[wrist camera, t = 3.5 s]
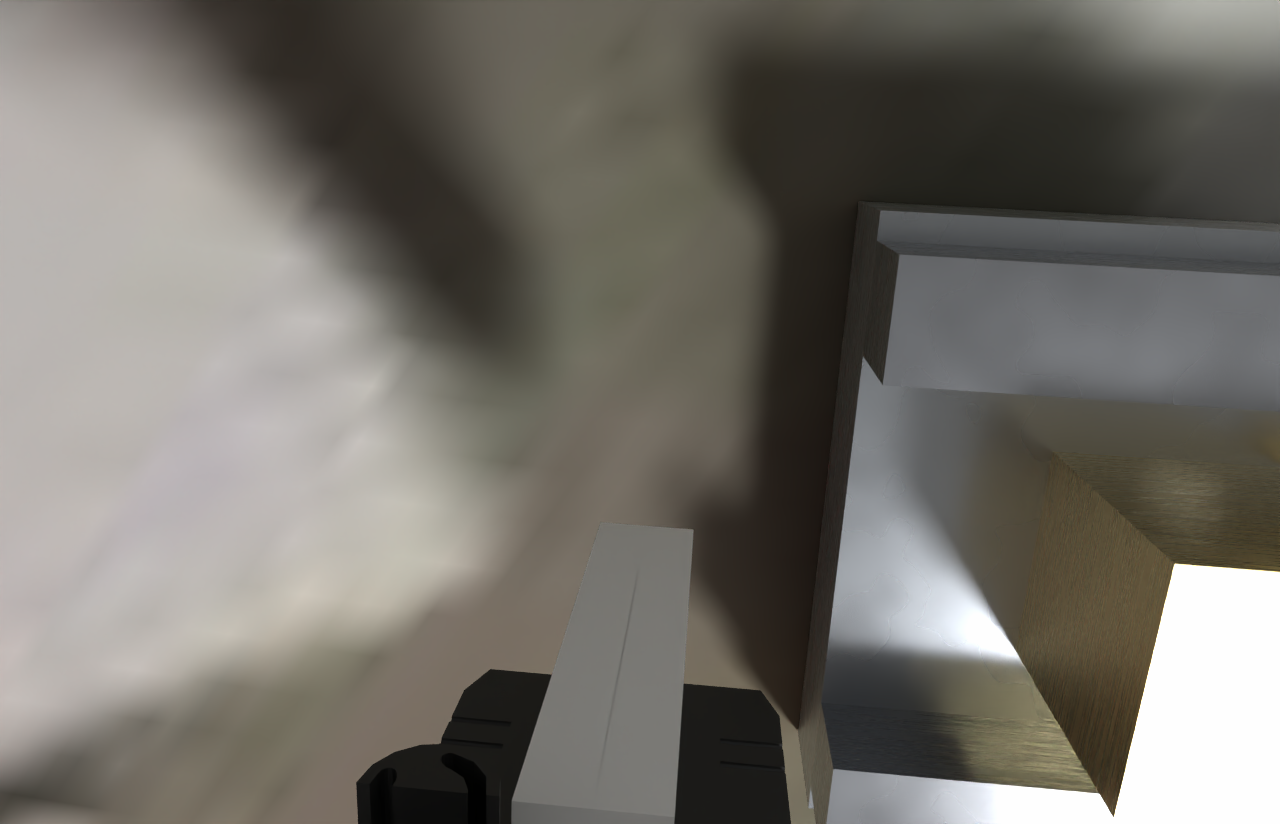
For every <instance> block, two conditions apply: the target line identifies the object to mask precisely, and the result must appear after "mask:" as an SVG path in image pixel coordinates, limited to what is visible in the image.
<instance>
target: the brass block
mask: <svg viewBox="0 0 1280 824" xmlns="http://www.w3.org/2000/svg"><path fill="white" fill-rule="evenodd" d="M1015 651H1016V652H1017V654H1018V656H1019V658H1020V659H1021V661H1022V663H1023V664H1024V666H1025V668H1026V670H1027V671H1028V673H1029V675H1030V676H1031V678H1032V680H1033V682H1034V683H1035V685H1036V687H1037V688H1038V690H1039V692H1040V693H1041V695H1042V697H1043V699H1044V700H1045V702H1046V704H1047V705H1048V707H1049V709H1050V711H1051V712H1052V714H1053V716H1054V717H1055V719H1056V721H1057V723H1058V724H1059V726H1060V728H1061V729H1062V731H1063V733H1064V735H1065V736H1066V738H1067V740H1068V741H1069V743H1070V745H1071V746H1072V748H1073V750H1074V752H1075V753H1076V755H1077V757H1078V758H1079V760H1080V762H1081V764H1082V765H1083V767H1084V769H1085V770H1086V772H1087V774H1088V776H1089V777H1090V779H1091V781H1092V782H1093V784H1094V786H1095V788H1096V789H1097V791H1098V793H1099V794H1100V796H1101V798H1102V799H1103V801H1104V803H1105V805H1106V806H1107V808H1108V810H1109V811H1110V813H1111V815H1112V817H1113V818H1114V819H1119V820H1129V821H1140V822H1150V823H1160V824H1280V467H1266V466H1251V465H1237V464H1223V463H1209V462H1194V461H1180V460H1166V459H1152V458H1137V457H1123V456H1109V455H1095V454H1080V453H1066V452H1053V454H1052V459H1051V464H1050V469H1049V475H1048V480H1047V485H1046V491H1045V496H1044V501H1043V507H1042V512H1041V517H1040V523H1039V528H1038V533H1037V538H1036V544H1035V549H1034V554H1033V560H1032V565H1031V570H1030V576H1029V581H1028V586H1027V592H1026V597H1025V602H1024V607H1023V613H1022V618H1021V623H1020V629H1019V634H1018V639H1017V645H1016V650H1015Z"/></svg>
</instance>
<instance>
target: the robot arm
mask: <svg viewBox="0 0 1280 824" xmlns="http://www.w3.org/2000/svg"><path fill="white" fill-rule="evenodd" d="M693 531H694V529H681V528H668V527H656V526H643V525H630V524H617V523H604V522H601V523H600V526H599V529H598V532H597V535H596V538H595V541H594V545H593V548H592V551H591V554H590V557H589V560H588V563H587V566H586V570H585V573H584V576H583V579H582V582H581V585H580V588H579V592H578V595H577V598H576V601H575V604H574V607H573V610H572V613H571V617H570V620H569V623H568V626H567V629H566V632H565V635H564V638H563V642H562V645H561V648H560V651H559V654H558V657H557V660H556V664H555V667H554V670H553V673H552V675H549V674H538V673H527V672H515V671H504V670H493V669H490V670H489V671H488V672H486V673H485V674H484V675H483V676H481V677H480V678H479V679H478V680H476V681H475V682H474V683H473V684H471V685H470V686H469V687H468V688H466V689H465V690H464V692H463V694H462V696H461V698H460V700H459V702H458V705H457V707H456V709H455V711H454V713H453V715H452V720H451V722H449V724H448V726H447V728H446V730H445V732H444V734H443V736H442V741H441V744H432V745H419V746H415V747H411V748H408V749H404V750H401V751H397V752H394V753H392V754H390V755H389V756H387V757H385V758H383V759H382V760H380V761H378V762H377V763H375V764H373V765H372V766H371V767H370V768H369V769H368V770H367V771H366V772H365V773H364V775H363V776H362V777H361V778H360V779H359V780H358V781H357V782H356V785H357V807H358V824H791V820H790V811H789V802H788V792H787V783H786V774H785V765H784V755H783V749H782V737H781V728H780V718H779V715H778V714H777V712H776V711H775V710H774V708H773V707H772V706H771V704H770V703H769V701H768V700H767V699H766V697H765V696H764V695H763V693H762V692H761V691H760V690H749V689H738V688H726V687H715V686H704V685H693V684H683V683H684V668H685V653H686V637H687V622H688V607H689V592H690V577H691V562H692V547H693Z"/></svg>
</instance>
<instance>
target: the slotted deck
mask: <svg viewBox="0 0 1280 824" xmlns="http://www.w3.org/2000/svg"><path fill="white" fill-rule="evenodd" d="M1053 452H1066V453H1080V454H1095V455H1109V456H1123V457H1137V458H1152V459H1166V460H1180V461H1194V462H1209V463H1223V464H1237V465H1251V466H1266V467H1280V224H1276V223H1257V222H1239V221H1220V220H1201V219H1182V218H1164V217H1145V216H1126V215H1107V214H1088V213H1070V212H1051V211H1032V210H1013V209H995V208H976V207H957V206H938V205H920V204H901V203H882V202H863V201H859V202H858V211H857V220H856V229H855V238H854V246H853V255H852V264H851V273H850V281H849V290H848V299H847V308H846V317H845V325H844V334H843V343H842V352H841V360H840V369H839V378H838V387H837V396H836V404H835V413H834V422H833V431H832V439H831V448H830V457H829V466H828V475H827V483H826V492H825V501H824V510H823V519H822V527H821V536H820V545H819V554H818V562H817V571H816V580H815V589H814V598H813V606H812V615H811V624H810V633H809V641H808V650H807V659H806V668H805V677H804V685H803V694H802V703H801V712H800V720H799V729H798V735H799V742H800V750H801V757H802V764H803V772H804V779H805V787H806V794H807V801H808V808H814V813H815V820H816V824H1160V823H1150V822H1140V821H1129V820H1119V819H1114V818H1113V817H1112V815H1111V813H1110V811H1109V810H1108V808H1107V806H1106V805H1105V803H1104V801H1103V799H1102V798H1101V796H1100V794H1099V793H1098V791H1097V789H1096V788H1095V786H1094V784H1093V782H1092V781H1091V779H1090V777H1089V776H1088V774H1087V772H1086V770H1085V769H1084V767H1083V765H1082V764H1081V762H1080V760H1079V758H1078V757H1077V755H1076V753H1075V752H1074V750H1073V748H1072V746H1071V745H1070V743H1069V741H1068V740H1067V738H1066V736H1065V735H1064V733H1063V731H1062V729H1061V728H1060V726H1059V724H1058V723H1057V721H1056V719H1055V717H1054V716H1053V714H1052V712H1051V711H1050V709H1049V707H1048V705H1047V704H1046V702H1045V700H1044V699H1043V697H1042V695H1041V693H1040V692H1039V690H1038V688H1037V687H1036V685H1035V683H1034V682H1033V680H1032V678H1031V676H1030V675H1029V673H1028V671H1027V670H1026V668H1025V666H1024V664H1023V663H1022V661H1021V659H1020V658H1019V656H1018V654H1017V652H1016V651H1015V650H1016V645H1017V639H1018V634H1019V629H1020V623H1021V618H1022V613H1023V607H1024V602H1025V597H1026V592H1027V586H1028V581H1029V576H1030V570H1031V565H1032V560H1033V554H1034V549H1035V544H1036V538H1037V533H1038V528H1039V523H1040V517H1041V512H1042V507H1043V501H1044V496H1045V491H1046V485H1047V480H1048V475H1049V469H1050V464H1051V459H1052V454H1053Z"/></svg>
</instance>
